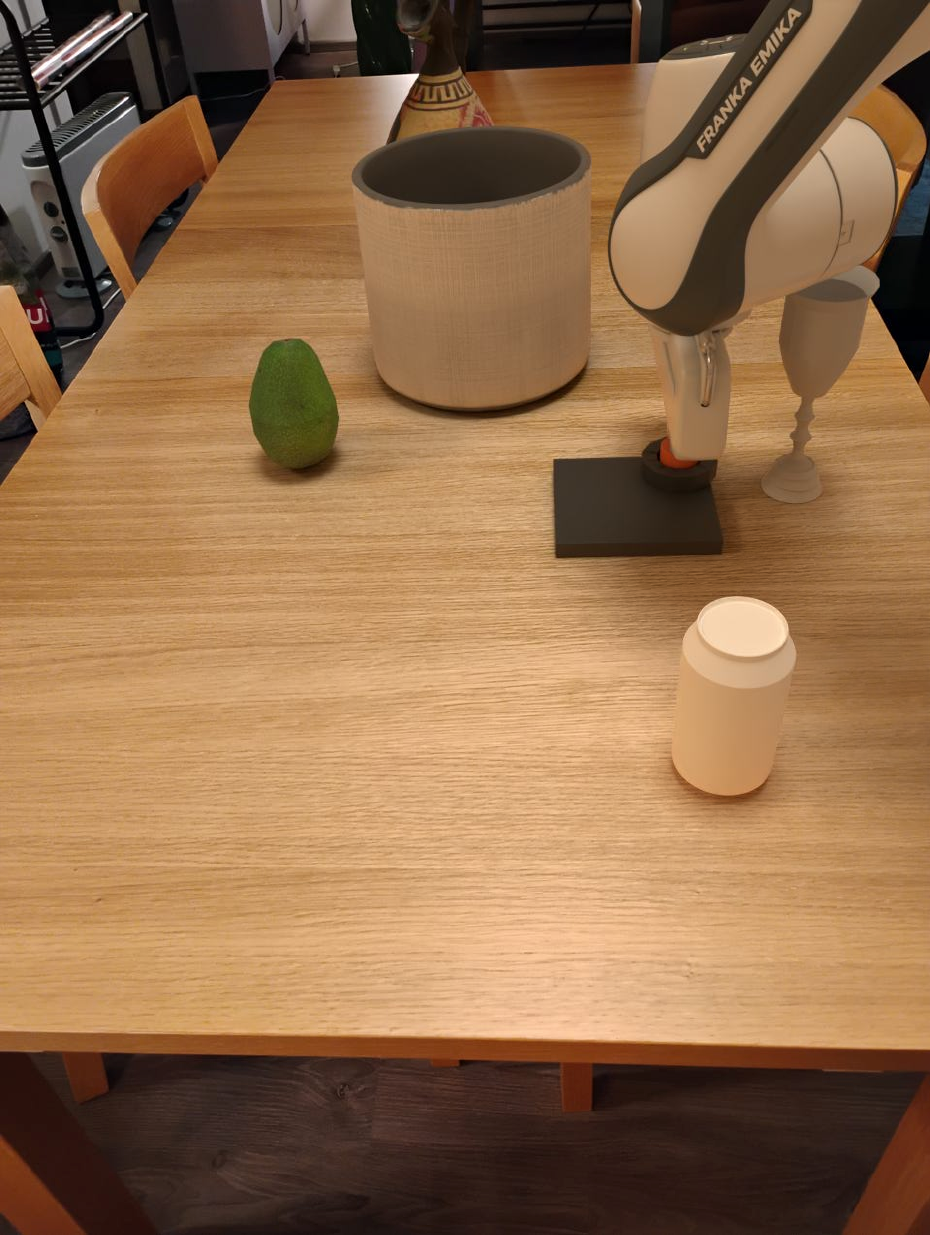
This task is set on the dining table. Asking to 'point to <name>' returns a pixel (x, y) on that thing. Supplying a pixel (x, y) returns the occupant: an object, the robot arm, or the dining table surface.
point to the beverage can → (732, 695)
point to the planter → (477, 264)
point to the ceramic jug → (438, 70)
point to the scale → (634, 507)
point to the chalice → (816, 366)
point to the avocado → (293, 405)
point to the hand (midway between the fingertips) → (679, 444)
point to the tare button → (673, 457)
